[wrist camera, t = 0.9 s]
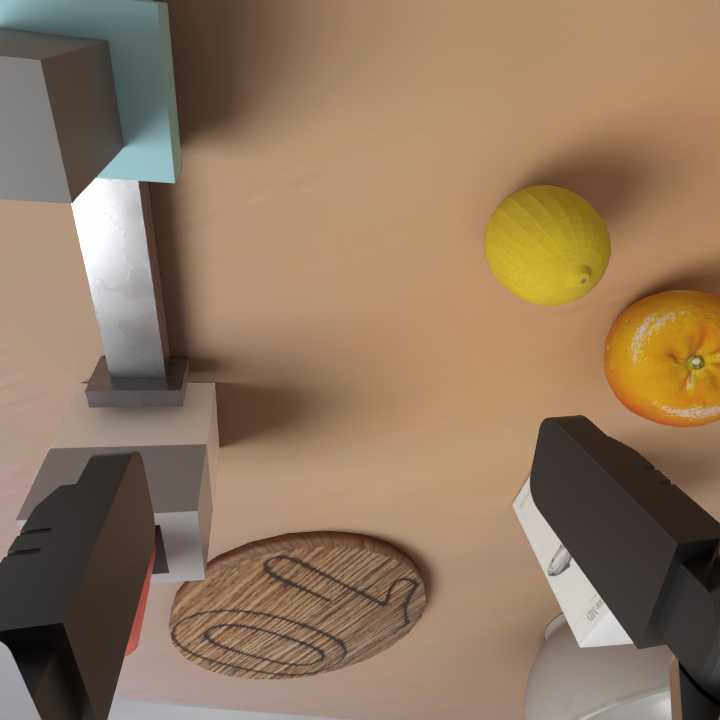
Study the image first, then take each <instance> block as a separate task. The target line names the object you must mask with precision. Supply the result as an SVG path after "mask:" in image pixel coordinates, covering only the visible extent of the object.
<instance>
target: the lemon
mask: <svg viewBox="0 0 720 720" xmlns="http://www.w3.org/2000/svg"><path fill="white" fill-rule="evenodd" d="M484 249H485V256H486V259H487V261H488V264H489V266H490V269H491V271H492V273H493V274H494V276H495V277H496V278H497V279H498V280H499V282H500V283H501V284H502V285H503V286H504V287H505V288H506V289H507V290H508V291H510V292H512V293H513V294H515V295H516V296H518V297H520V298H521V299H523V300H525V301H528V302H531V303H534V304H538V305H543V306H558V305H563V304H567V303H570V302H572V301H575V300H577V299H579V298H581V297H583V296H584V295H586V294H587V293H588V292H590V291H591V290H592V289H593V288H594V287H595V286H596V285H597V284H598V282H599V281H600V280H601V278H602V277H603V275H604V273H605V271H606V269H607V266H608V264H609V259H610V255H611V244H610V237H609V233H608V231H607V228H606V225H605V223H604V221H603V219H602V218H601V216H600V215H599V214H598V212H597V211H596V210H595V209H594V208H593V207H592V206H591V204H590V203H589V202H588V201H587V200H585V199H584V198H582V197H581V196H579V195H577V194H575V193H573V192H572V191H570V190H568V189H565V188H561V187H556V186H551V185H539V186H531V187H527V188H524V189H522V190H519V191H517V192H515V193H514V194H512V195H510V196H509V197H507V198H506V199H505V200H504V201H503V202H502V203H501V204H499V205H498V207H497V208H496V209H495V211H494V212H493V214H492V215H491V217H490V220H489V222H488V224H487V226H486V231H485V236H484Z"/></svg>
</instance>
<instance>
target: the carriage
mask: <svg viewBox="0 0 720 720" xmlns="http://www.w3.org/2000/svg"><path fill="white" fill-rule="evenodd" d="M181 170H182V160H181V149H180V138H179V127H178V115H177V104H176V93H175V82H174V70H173V59H172V48H171V37H170V26H169V14H168V3H165V2H158V1H154V0H0V199H6V200H23V201H40V202H57V203H73V202H74V201H75V200H76V199H77V198H78V196H79V195H80V194H81V193H82V192H83V191H84V190H85V189H86V188H87V187H88V186H89V185H90V184H91V182H92V181H93V180H94V179H95V178H106V179H120V180H135V181H150V182H164V183H175V182H176V180H177V178H178V176H179V174H180V172H181Z"/></svg>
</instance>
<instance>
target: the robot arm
mask: <svg viewBox="0 0 720 720" xmlns="http://www.w3.org/2000/svg"><path fill="white" fill-rule="evenodd" d="M530 491H531V495H532V499H533V501H534V504H535V506H536V507H537V509H538V510H539V512H540V513H541V515H542V516H543V517H544V519H545V520H546V522H547V523H548V524H549V526H550V527H551V529H552V530H553V531H554V533H555V534H556V536H557V537H558V538H559V540H560V541H561V542H562V544H563V545H564V547H565V548H566V549H567V551H568V552H569V554H570V555H571V556H572V558H573V559H574V561H575V562H576V563H577V565H578V566H579V568H580V569H581V570H582V572H583V573H584V575H585V576H586V577H587V579H588V580H589V582H590V583H591V584H592V586H593V587H594V589H595V590H596V591H597V593H598V594H599V595H600V597H601V598H602V600H603V601H604V602H605V604H606V605H607V607H608V608H609V609H610V611H611V612H612V614H613V615H614V616H615V618H616V619H617V621H618V622H619V623H620V625H621V626H622V628H623V629H624V630H625V632H626V633H627V635H628V636H629V637H630V639H631V640H632V641H633V643H634V644H635V646H636V647H637V648H638V649H644V648H650V647H656V646H662V645H667V646H668V647H669V649H670V650H671V651H672V653H673V654H674V656H673V658H672V661H671V664H670V668H669V676H670V696H671V715H672V720H720V523H719V522H717V521H716V520H715V519H714V518H713V517H712V516H711V515H709V514H708V513H707V512H706V511H705V510H704V509H702V508H701V507H700V506H699V505H698V504H697V503H696V502H694V501H693V500H692V499H691V498H690V497H689V496H687V495H686V494H685V493H684V492H683V491H682V490H681V489H679V488H678V487H677V486H676V485H671V483H670V480H669V479H668V478H667V477H666V476H664V475H663V474H662V473H661V472H660V471H659V470H655V469H654V466H653V465H652V464H650V463H649V462H648V461H647V460H646V459H645V458H644V457H642V456H641V455H640V454H639V453H638V452H637V451H635V450H634V449H632V448H630V447H628V446H626V445H624V444H623V443H621V442H619V441H617V440H615V439H613V438H611V437H608V436H607V435H606V434H604V433H603V432H602V431H601V430H600V429H599V428H598V427H597V426H595V425H594V424H593V423H592V422H591V421H590V420H589V419H588V418H586V417H585V416H582V415H576V416H564V417H552V418H546V419H544V420H543V422H542V423H541V425H540V429H539V434H538V439H537V444H536V449H535V454H534V460H533V465H532V470H531V475H530ZM20 532H21V534H20V536H17V537H16V539H15V540H14V542H13V544H12V545H11V547H10V549H9V550H8V556H7V557H4V558H3V560H2V562H1V563H0V720H107V718H108V715H109V711H110V707H111V704H112V700H113V696H114V693H115V689H116V685H117V682H118V678H119V674H120V671H121V667H122V663H123V659H124V656H125V652H126V648H127V645H128V641H129V637H130V634H131V630H132V626H133V623H134V619H135V615H136V611H137V608H138V604H139V600H140V597H141V593H142V589H143V586H144V582H145V578H146V574H147V571H148V567H149V563H150V560H151V556H152V552H153V548H154V541H155V518H154V512H153V507H152V503H151V498H150V493H149V488H148V483H147V478H146V473H145V468H144V464H143V459H142V456H141V454H140V453H139V452H138V451H128V452H116V453H104V454H94V455H92V456H91V458H90V459H89V461H88V463H87V465H86V466H85V468H84V470H83V472H82V474H81V476H80V478H79V479H78V481H77V483H76V484H70V485H60V486H59V487H58V488H57V489H56V490H54V491H53V492H52V493H51V494H50V495H49V496H47V497H46V498H45V499H44V500H43V501H41V502H40V503H39V504H38V505H37V506H36V507H35V508H34V510H33V511H32V513H31V514H30V516H29V518H28V519H27V521H26V523H25V524H24V526H23V527H22V529H21V531H20Z"/></svg>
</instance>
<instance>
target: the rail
mask: <svg viewBox="0 0 720 720" xmlns="http://www.w3.org/2000/svg"><path fill="white" fill-rule="evenodd" d="M71 204H72V209H73V213H74V218H75V222H76V227H77V231H78V236H79V240H80V245H81V249H82V254H83V258H84V263H85V267H86V272H87V276H88V281H89V285H90V290H91V294H92V299H93V303H94V308H95V312H96V316H97V321H98V325H99V330H100V334H101V339H102V343H103V348H104V352H105V357H100V359H99V361H98V363H97V366H96V368H95V370H94V372H93V374H92V377H91V379H90V381H89V383H88V385H87V388H86V390H85V393H86V397H87V401H88V405H89V408H99V407H175V406H183V404H184V399H185V394H186V389H187V384H188V379H189V374H190V371H189V362H188V357H171V354H170V346H169V338H168V330H167V323H166V315H165V307H164V299H163V292H162V284H161V276H160V269H159V261H158V253H157V245H156V238H155V230H154V222H153V214H152V207H151V199H150V191H149V183H148V181H135V180H120V179H106V178H95V179H94V180H93V181H92V182H91V184H90V185H89V186H88V187H87V188H86V189H85V190H84V191H83V192H82V193H81V194H80V195H79V196H78V198H77V199H76V200H75V201H74V202H73V203H71Z"/></svg>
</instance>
